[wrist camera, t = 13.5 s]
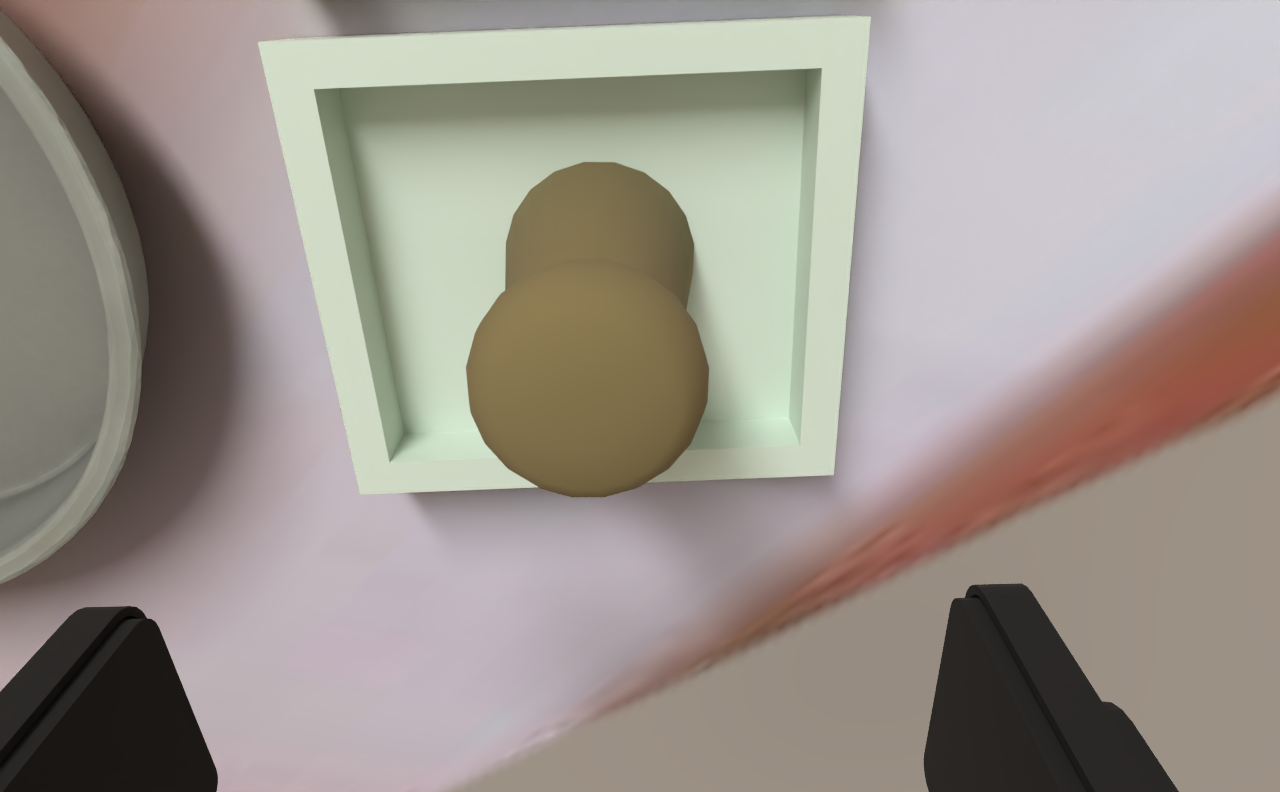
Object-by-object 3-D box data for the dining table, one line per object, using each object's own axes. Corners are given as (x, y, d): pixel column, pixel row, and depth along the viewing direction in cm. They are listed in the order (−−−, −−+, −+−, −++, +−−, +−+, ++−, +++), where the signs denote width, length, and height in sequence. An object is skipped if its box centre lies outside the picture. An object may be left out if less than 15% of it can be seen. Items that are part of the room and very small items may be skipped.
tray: (842, 14, 24) (870, 16, 21) (814, 432, 30) (833, 475, 27) (299, 37, 24) (258, 42, 21) (384, 450, 30) (360, 494, 27)
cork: (527, 356, 27) (471, 559, 17) (486, 177, 24) (393, 295, 15) (704, 331, 27) (751, 523, 17) (682, 146, 24) (722, 246, 14)
